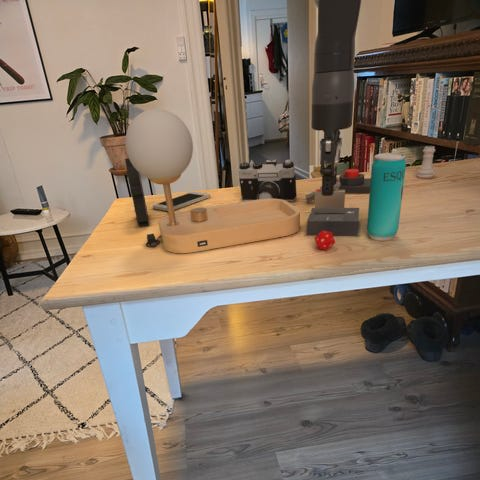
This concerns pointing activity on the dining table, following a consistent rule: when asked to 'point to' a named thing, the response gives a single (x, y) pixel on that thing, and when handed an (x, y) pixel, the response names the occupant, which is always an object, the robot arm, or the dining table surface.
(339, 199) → the grey rectangular plate
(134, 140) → the lamp
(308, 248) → the dining table surface
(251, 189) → the camera
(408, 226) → the dining table surface
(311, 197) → the elephant figurine
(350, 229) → the dial block
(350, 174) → the button
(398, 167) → the beverage can
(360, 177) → the box
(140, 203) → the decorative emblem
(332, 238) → the die
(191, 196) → the smartphone
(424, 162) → the rook chess piece
